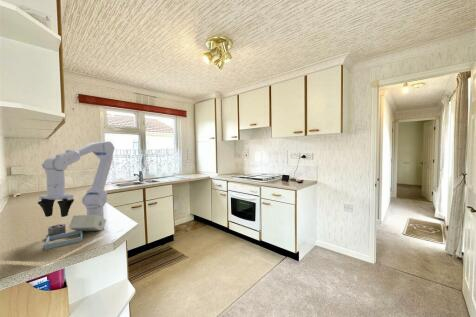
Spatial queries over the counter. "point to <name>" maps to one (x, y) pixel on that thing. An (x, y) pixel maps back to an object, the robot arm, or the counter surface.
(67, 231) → the stake board
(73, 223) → the small box
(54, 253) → the counter surface
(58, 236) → the tray
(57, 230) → the dark grey block
